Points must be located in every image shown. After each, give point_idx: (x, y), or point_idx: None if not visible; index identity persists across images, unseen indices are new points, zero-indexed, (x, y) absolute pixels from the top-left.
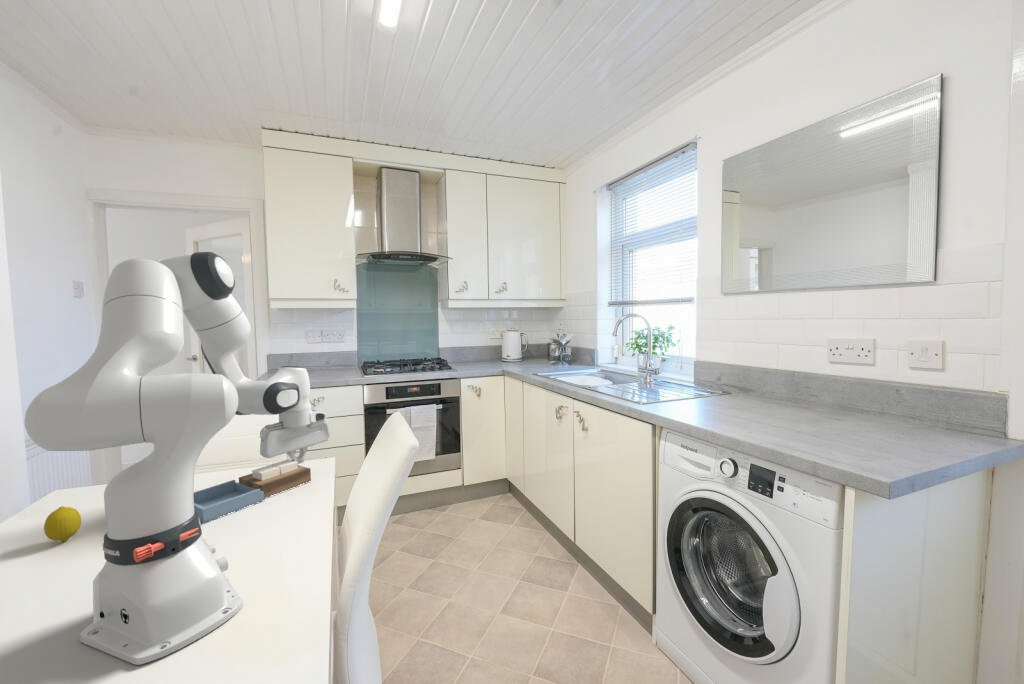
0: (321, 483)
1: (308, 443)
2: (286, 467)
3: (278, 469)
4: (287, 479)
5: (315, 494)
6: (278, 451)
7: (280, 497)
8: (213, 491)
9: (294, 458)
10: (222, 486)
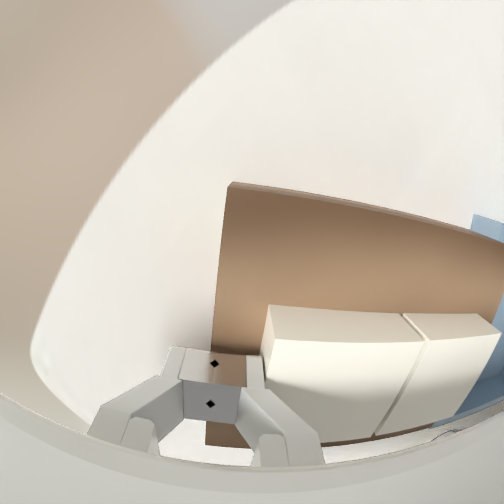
0: (229, 91)
1: (53, 460)
2: (377, 332)
3: (431, 334)
4: (415, 218)
5: (358, 21)
6: (496, 447)
7: (442, 170)
8: (472, 398)
9: (272, 397)
10: (459, 408)
